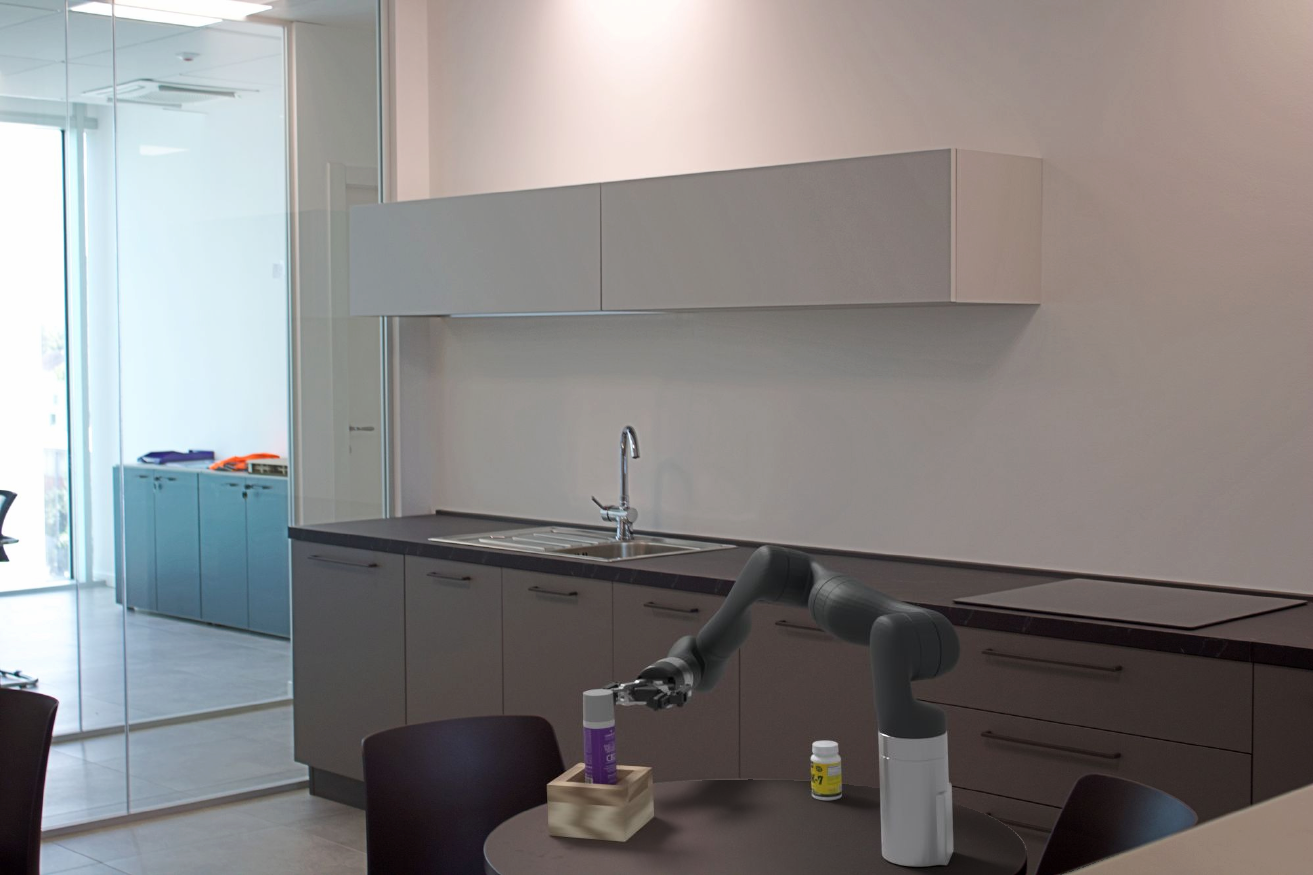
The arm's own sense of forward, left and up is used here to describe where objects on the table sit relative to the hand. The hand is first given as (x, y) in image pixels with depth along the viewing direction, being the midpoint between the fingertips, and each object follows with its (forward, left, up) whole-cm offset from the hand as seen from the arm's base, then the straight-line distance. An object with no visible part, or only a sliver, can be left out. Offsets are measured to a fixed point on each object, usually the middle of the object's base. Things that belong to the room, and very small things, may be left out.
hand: (630, 703), depth 218 cm
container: (0, +13, -11) cm, 17 cm away
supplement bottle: (-29, -9, -16) cm, 34 cm away
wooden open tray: (0, +13, -15) cm, 20 cm away
